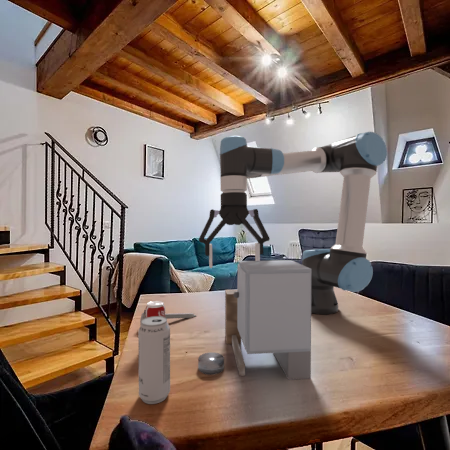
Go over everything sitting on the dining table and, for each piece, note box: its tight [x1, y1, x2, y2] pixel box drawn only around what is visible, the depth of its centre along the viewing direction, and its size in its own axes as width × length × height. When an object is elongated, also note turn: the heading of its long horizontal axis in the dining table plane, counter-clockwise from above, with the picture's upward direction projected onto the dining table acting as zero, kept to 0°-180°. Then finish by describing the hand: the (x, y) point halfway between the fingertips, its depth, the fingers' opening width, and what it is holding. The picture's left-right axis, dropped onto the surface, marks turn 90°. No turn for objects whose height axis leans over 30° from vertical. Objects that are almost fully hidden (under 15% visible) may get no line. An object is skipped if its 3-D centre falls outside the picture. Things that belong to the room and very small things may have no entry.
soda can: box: [145, 300, 166, 318], centre depth 77 cm, size 5×5×12 cm
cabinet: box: [233, 259, 312, 381], centre depth 67 cm, size 16×13×24 cm
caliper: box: [139, 309, 197, 327], centre depth 96 cm, size 20×1×6 cm, turn 128°
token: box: [197, 351, 225, 376], centre depth 67 cm, size 6×6×2 cm
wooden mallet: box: [224, 289, 246, 377], centre depth 74 cm, size 4×21×14 cm, turn 5°
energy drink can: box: [137, 316, 171, 405], centre depth 56 cm, size 6×6×15 cm
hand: (234, 266), depth 82 cm, fingers open, 13 cm apart
